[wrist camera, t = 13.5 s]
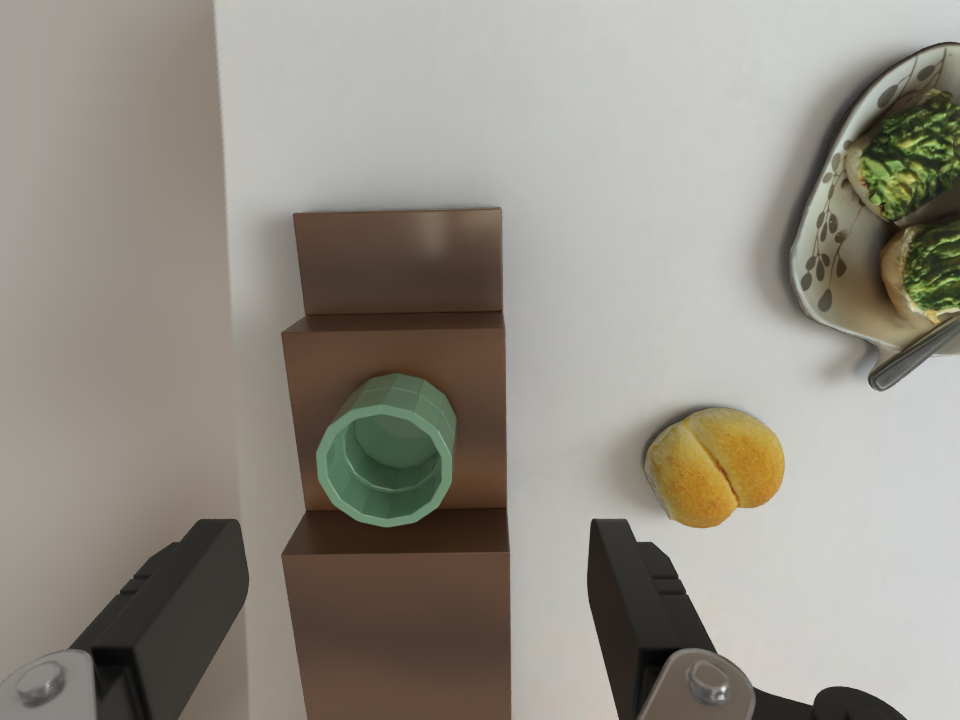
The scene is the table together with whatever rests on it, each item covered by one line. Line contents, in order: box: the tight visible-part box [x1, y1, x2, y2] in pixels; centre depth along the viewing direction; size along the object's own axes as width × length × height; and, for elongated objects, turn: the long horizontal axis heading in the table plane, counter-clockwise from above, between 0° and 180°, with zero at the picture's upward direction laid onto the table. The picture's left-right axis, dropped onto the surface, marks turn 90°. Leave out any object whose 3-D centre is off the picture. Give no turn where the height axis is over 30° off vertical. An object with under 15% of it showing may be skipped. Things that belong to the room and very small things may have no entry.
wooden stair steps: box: [281, 207, 511, 720], centre depth 37 cm, size 61×12×11 cm, turn 1°
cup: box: [316, 373, 457, 527], centre depth 27 cm, size 6×6×5 cm
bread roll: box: [644, 408, 785, 528], centre depth 36 cm, size 8×9×4 cm
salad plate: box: [789, 42, 960, 392], centre depth 31 cm, size 19×18×5 cm
